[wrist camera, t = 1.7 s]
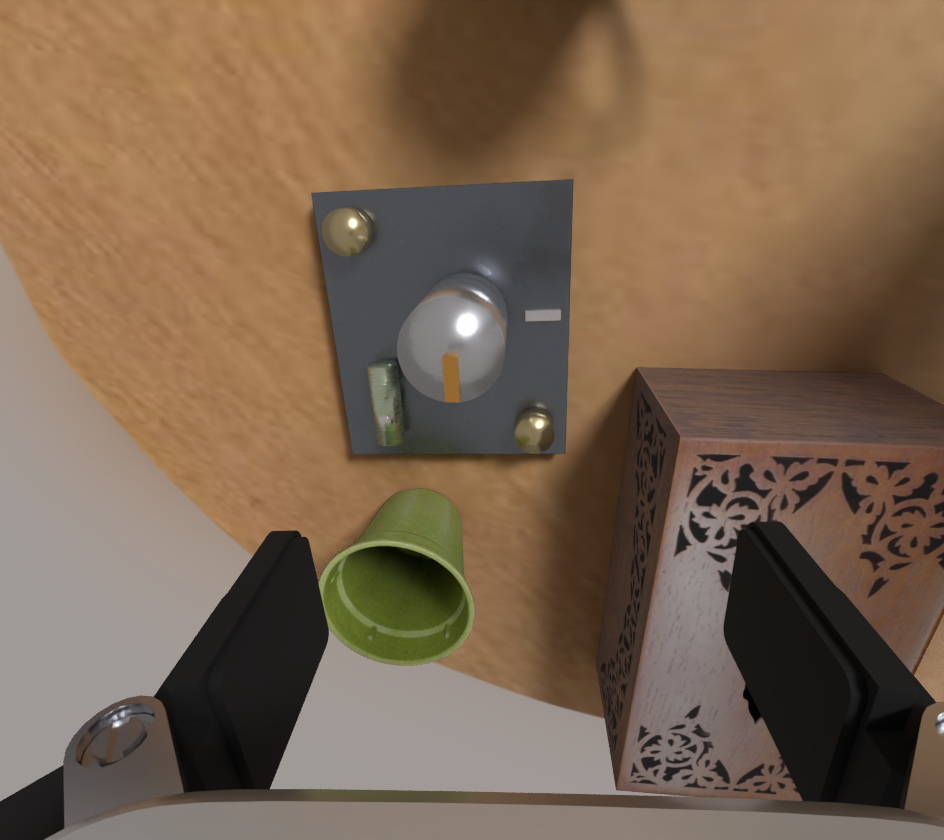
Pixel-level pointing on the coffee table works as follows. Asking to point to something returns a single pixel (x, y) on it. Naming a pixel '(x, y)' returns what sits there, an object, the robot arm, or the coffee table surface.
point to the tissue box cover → (714, 545)
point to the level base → (414, 274)
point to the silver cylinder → (455, 339)
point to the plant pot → (402, 583)
